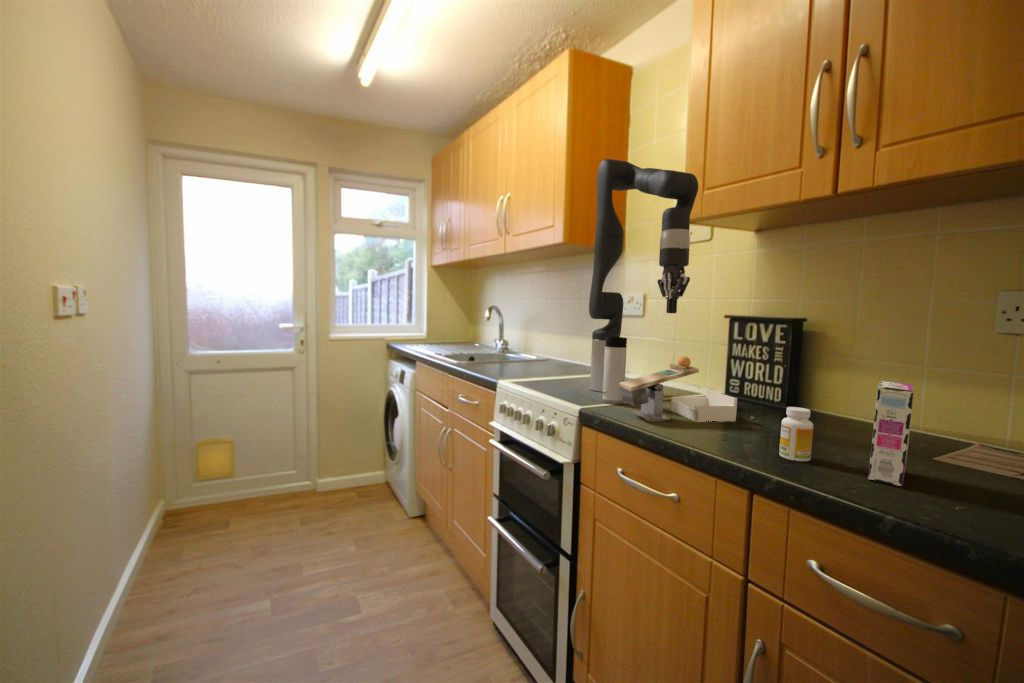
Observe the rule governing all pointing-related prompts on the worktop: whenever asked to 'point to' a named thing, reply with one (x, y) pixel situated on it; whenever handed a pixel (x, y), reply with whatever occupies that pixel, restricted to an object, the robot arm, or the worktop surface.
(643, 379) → the lever
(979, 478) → the worktop surface
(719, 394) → the tray
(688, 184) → the robot arm
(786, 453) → the supplement bottle
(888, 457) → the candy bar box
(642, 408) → the fulcrum
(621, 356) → the travel mug
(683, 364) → the ball
